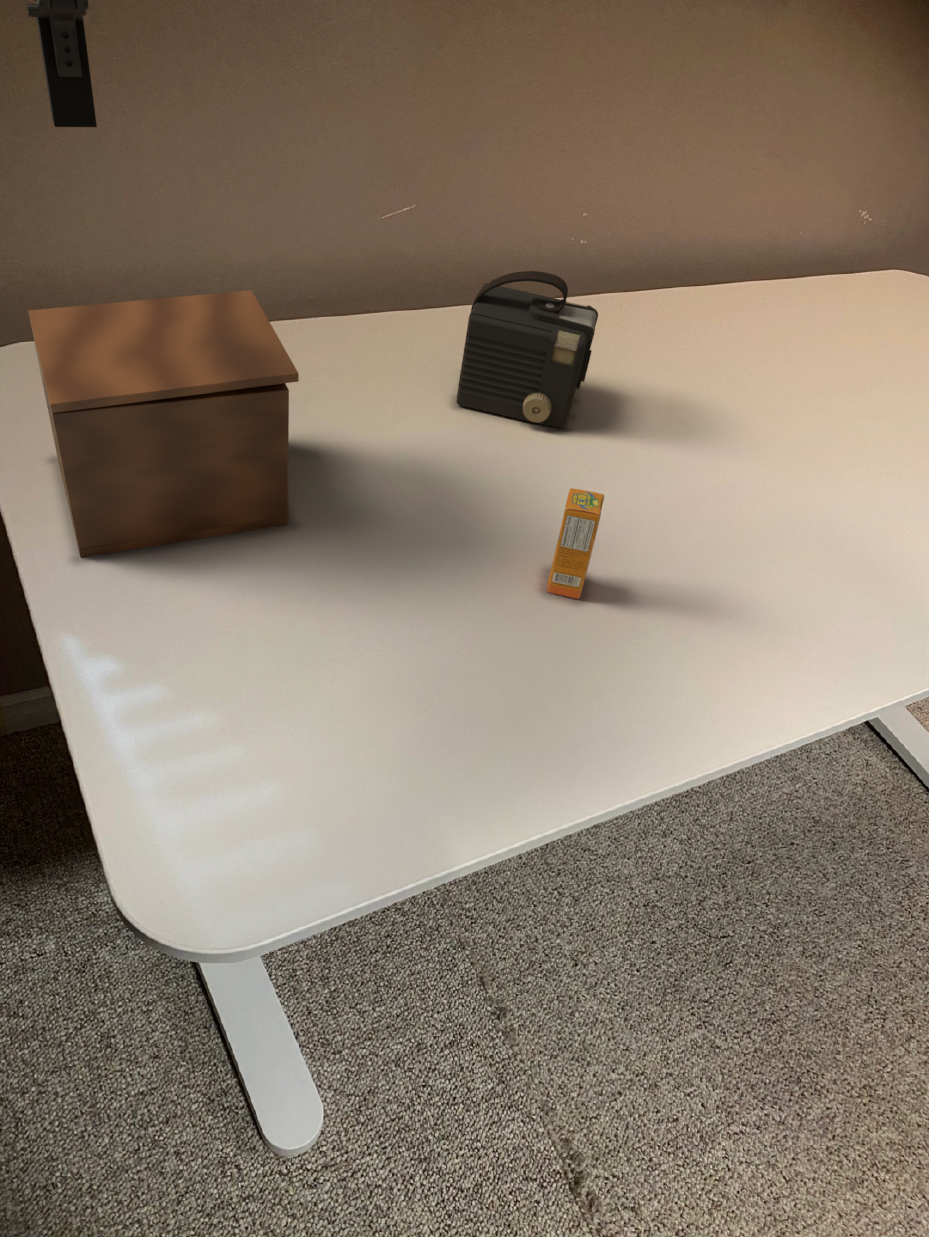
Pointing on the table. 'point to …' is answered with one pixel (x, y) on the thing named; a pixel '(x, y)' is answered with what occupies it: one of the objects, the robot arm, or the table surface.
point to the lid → (157, 349)
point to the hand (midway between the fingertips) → (74, 123)
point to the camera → (525, 351)
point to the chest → (174, 467)
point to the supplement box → (575, 543)
